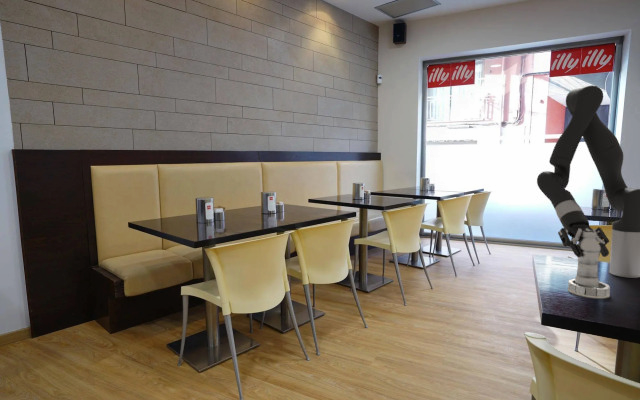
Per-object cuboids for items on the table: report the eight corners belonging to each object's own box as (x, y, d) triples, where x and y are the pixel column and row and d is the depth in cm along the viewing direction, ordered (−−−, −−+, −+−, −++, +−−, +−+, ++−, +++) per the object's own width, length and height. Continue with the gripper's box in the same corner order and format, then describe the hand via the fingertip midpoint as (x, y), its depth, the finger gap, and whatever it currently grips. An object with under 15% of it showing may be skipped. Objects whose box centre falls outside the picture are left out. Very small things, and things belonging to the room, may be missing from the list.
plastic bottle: (603, 294, 122) (606, 233, 120) (580, 293, 123) (583, 233, 121) (592, 287, 128) (595, 229, 126) (570, 286, 129) (573, 229, 127)
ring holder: (577, 284, 133) (578, 276, 133) (616, 294, 124) (616, 285, 123) (561, 290, 127) (561, 282, 127) (599, 301, 118) (600, 292, 117)
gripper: (556, 210, 130) (578, 250, 120) (597, 209, 130) (622, 249, 120) (546, 222, 136) (566, 262, 126) (585, 222, 136) (608, 261, 126)
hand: (593, 255), depth 123 cm, fingers open, 8 cm apart
